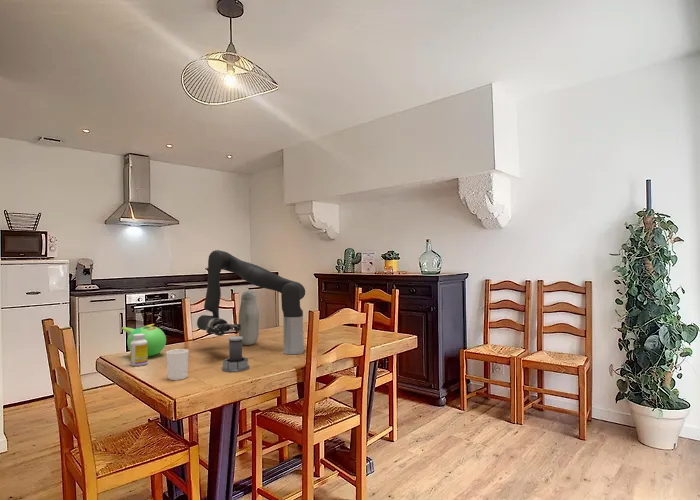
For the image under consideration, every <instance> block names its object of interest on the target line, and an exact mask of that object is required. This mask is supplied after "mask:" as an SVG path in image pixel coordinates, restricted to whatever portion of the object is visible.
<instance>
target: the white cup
mask: <svg viewBox="0 0 700 500" xmlns="http://www.w3.org/2000/svg"><path fill="white" fill-rule="evenodd" d="M189 351H190V350H189V349H187V348H177V349H171V350H166V368H167V377H168V378H167V379H168V380H170V381H180V380H183V379H184V380H185V379H186V378H188V370H189V355H190V352H189Z"/></svg>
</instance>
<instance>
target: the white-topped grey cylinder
mask: <svg viewBox="0 0 700 500" xmlns="http://www.w3.org/2000/svg"><path fill="white" fill-rule="evenodd" d="M242 339H243V337H241V336H239V335H238V336H237V335H235V336H229V337H228V341H229V342H228V344H229V345H228V347H229V348H228V350H229V351H228V352H229V353H228V358H229V362H238V361H242V357H243V343H242Z"/></svg>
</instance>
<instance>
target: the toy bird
mask: <svg viewBox="0 0 700 500" xmlns="http://www.w3.org/2000/svg"><path fill="white" fill-rule="evenodd" d="M154 325H155V323H151V324H148V325H143V326H142V325H141V326H140V327H137V328H133V327H132V328H131V327H128V326H127V327H126V326H124V327H123V326H122V327H121V329H122V330H123V332H125V333H127V334H129V335H128V337H127V340H126V342H127V348H128V350H129V351H130V343H131V342H132V341H133V335H134V334H145V338H144V339H145V340H147V342H148V357H153V356H155V355H157V354H160V353H161V352H162V351H163V350H164V349H165V347H166V344H167V336H166V334H165V332H164V331H163V330H162V329H161V328H159V327H157V326H154Z"/></svg>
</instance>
